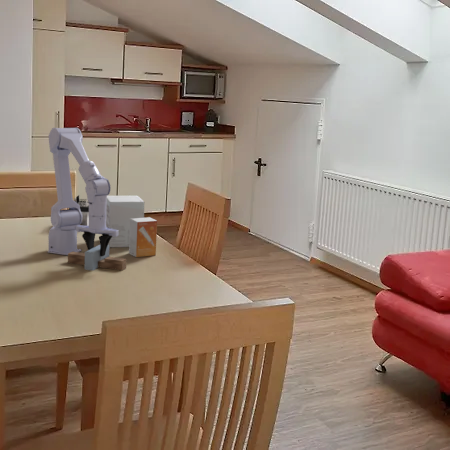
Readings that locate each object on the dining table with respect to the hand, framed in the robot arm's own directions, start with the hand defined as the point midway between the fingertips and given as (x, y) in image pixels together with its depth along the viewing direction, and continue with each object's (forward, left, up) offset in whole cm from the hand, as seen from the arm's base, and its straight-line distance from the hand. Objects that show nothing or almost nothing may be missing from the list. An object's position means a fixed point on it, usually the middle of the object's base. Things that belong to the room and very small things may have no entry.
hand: (96, 254), depth 216 cm
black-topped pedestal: (-31, +47, -4) cm, 57 cm away
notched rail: (0, 0, -4) cm, 4 cm away
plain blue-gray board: (0, 0, -4) cm, 4 cm away
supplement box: (-5, +32, -4) cm, 33 cm away
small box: (+8, +20, -4) cm, 22 cm away
